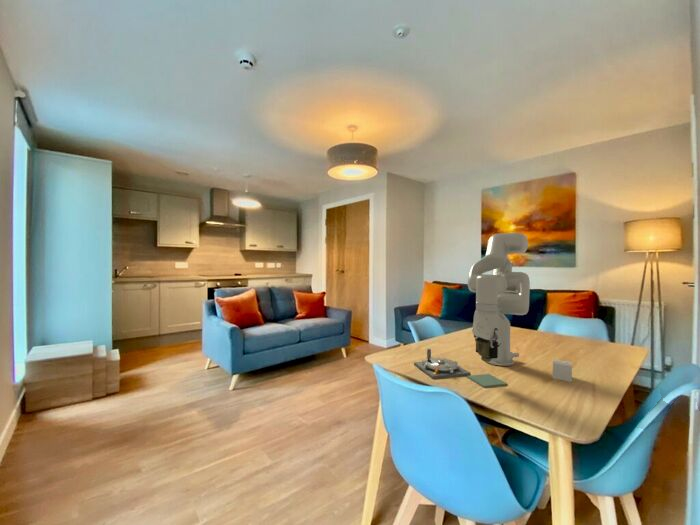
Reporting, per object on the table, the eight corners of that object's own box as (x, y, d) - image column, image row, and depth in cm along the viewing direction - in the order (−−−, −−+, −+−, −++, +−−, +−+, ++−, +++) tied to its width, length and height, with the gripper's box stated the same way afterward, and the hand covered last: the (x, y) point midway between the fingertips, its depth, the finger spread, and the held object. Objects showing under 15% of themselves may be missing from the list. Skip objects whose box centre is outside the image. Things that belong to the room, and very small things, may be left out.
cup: (499, 364, 110) (499, 342, 110) (478, 363, 112) (478, 341, 112) (494, 358, 117) (494, 337, 117) (474, 357, 119) (474, 336, 119)
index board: (447, 361, 137) (447, 359, 137) (470, 375, 121) (470, 371, 121) (413, 364, 133) (413, 361, 133) (432, 378, 117) (432, 375, 117)
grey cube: (552, 378, 118) (552, 363, 118) (553, 374, 123) (553, 359, 123) (571, 382, 114) (571, 366, 114) (571, 377, 119) (571, 362, 119)
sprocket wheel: (427, 358, 137) (427, 344, 137) (463, 364, 130) (463, 349, 130) (417, 368, 124) (417, 353, 124) (456, 375, 116) (456, 359, 116)
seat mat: (488, 375, 121) (488, 373, 121) (507, 385, 111) (507, 383, 111) (466, 377, 118) (466, 375, 118) (483, 387, 109) (483, 385, 109)
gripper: (464, 305, 122) (463, 349, 122) (494, 311, 105) (493, 363, 105) (480, 305, 124) (480, 348, 124) (512, 311, 107) (512, 361, 107)
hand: (486, 354), depth 114 cm, fingers closed on cup, 6 cm apart
